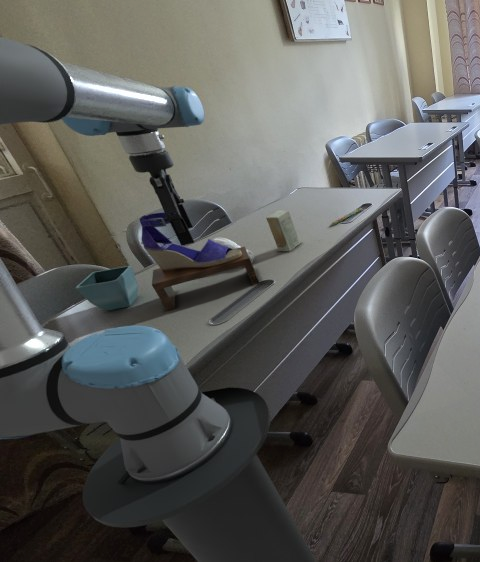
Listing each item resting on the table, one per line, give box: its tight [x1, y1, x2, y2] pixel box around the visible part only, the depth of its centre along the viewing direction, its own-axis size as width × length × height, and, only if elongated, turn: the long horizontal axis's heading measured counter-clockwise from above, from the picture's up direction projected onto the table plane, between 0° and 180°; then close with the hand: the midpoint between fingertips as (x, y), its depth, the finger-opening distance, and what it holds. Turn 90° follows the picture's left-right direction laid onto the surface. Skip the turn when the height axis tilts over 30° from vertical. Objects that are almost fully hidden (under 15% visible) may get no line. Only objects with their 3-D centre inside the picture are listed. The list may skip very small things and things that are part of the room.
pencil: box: [329, 207, 363, 227], centre depth 155 cm, size 1×1×18 cm
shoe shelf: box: [151, 246, 260, 311], centre depth 111 cm, size 22×10×8 cm, turn 126°
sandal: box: [139, 211, 242, 271], centre depth 105 cm, size 8×20×15 cm, turn 103°
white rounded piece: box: [211, 237, 255, 264], centre depth 124 cm, size 6×8×12 cm
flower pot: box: [75, 265, 139, 312], centre depth 105 cm, size 9×9×9 cm
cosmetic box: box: [265, 209, 301, 252], centre depth 131 cm, size 6×4×12 cm
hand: (187, 235), depth 104 cm, fingers open, 13 cm apart
